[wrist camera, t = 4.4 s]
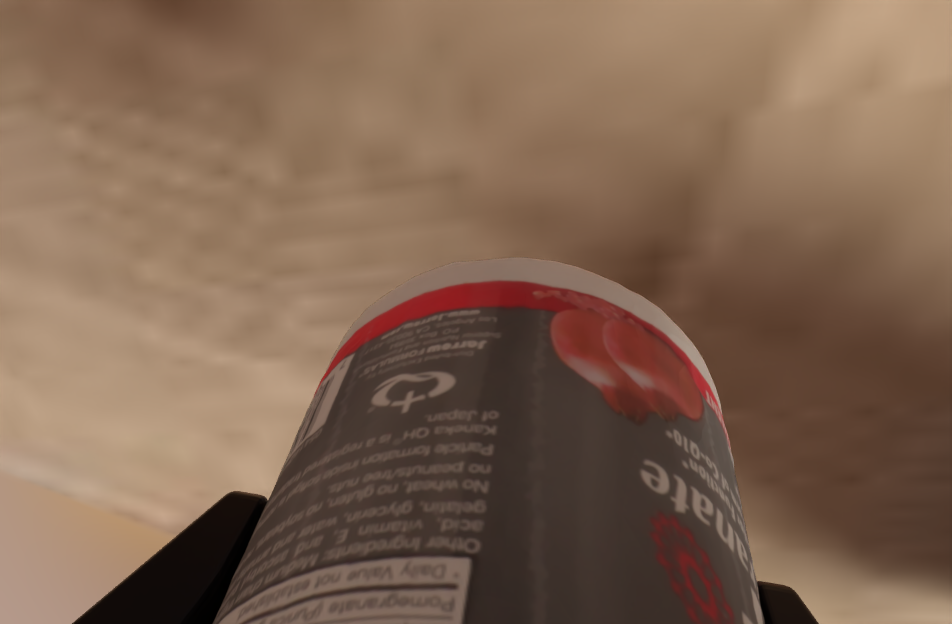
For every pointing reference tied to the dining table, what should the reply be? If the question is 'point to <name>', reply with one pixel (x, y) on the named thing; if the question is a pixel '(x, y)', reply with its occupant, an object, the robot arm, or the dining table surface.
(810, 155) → the dining table surface
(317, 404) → the pill bottle
